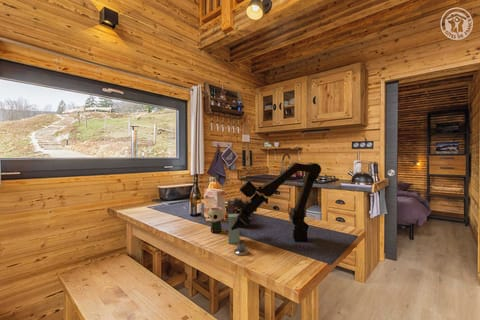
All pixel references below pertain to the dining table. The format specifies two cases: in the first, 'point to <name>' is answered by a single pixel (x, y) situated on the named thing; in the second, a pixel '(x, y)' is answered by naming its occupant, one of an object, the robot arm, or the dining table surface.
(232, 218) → the sage green block
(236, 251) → the post
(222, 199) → the coffeecake box
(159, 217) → the dining table surface
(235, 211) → the supplement box
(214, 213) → the cream head figurine
